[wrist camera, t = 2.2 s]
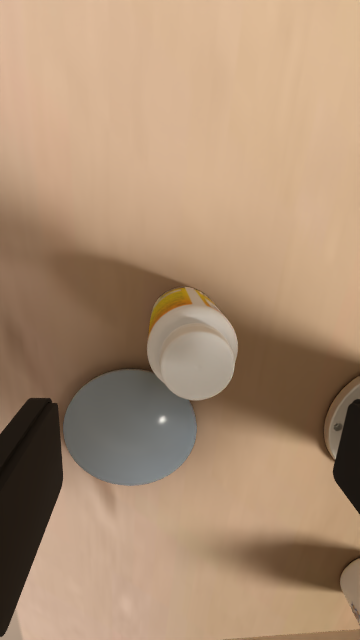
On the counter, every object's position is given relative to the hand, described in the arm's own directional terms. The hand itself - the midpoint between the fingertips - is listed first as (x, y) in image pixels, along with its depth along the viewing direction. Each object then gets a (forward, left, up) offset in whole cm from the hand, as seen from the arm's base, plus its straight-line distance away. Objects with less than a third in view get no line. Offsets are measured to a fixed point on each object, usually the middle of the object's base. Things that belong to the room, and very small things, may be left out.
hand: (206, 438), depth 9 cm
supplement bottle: (0, 0, -16) cm, 16 cm away
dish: (-7, +9, -16) cm, 20 cm away
